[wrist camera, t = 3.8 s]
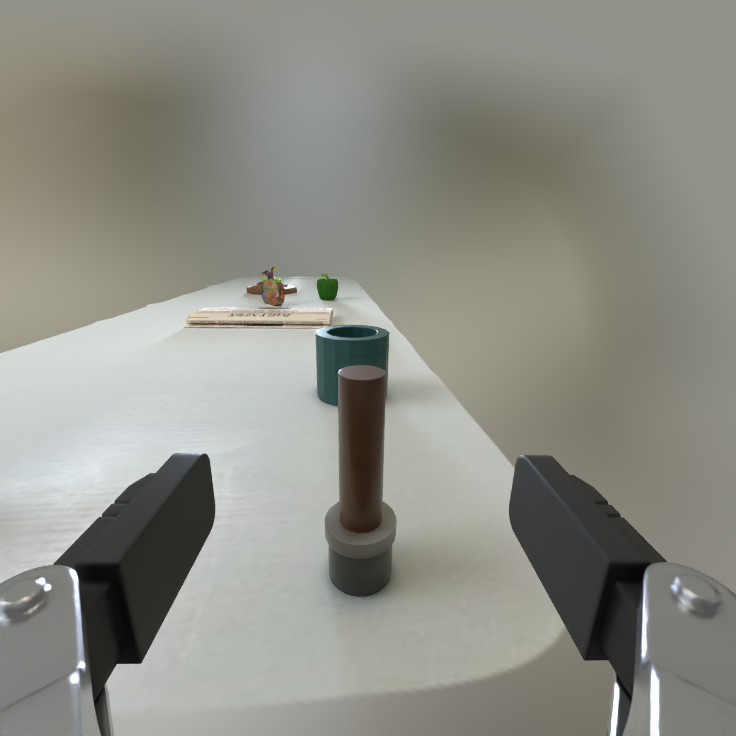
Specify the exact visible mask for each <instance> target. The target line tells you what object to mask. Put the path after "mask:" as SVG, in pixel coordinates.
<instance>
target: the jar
mask: <svg viewBox="0 0 736 736" xmlns="http://www.w3.org/2000/svg"><path fill="white" fill-rule="evenodd" d="M388 349H389V332H388V331H387V330H385V329H382V328H379V327H373V326H366V325H337V326H329V327H325V328H321V329H319V330H317V331H316V362H317V390H318V397H319V398H320V399H321V400H322V401H323V402H325V403H328V404H331V405H335V406H338V372H339V370H340V369H342V368H345V367H348V366H355V365H368V366H375V367H379V368H381V369H383V370H385V372H386V395H387V380H388ZM386 395H385V397H386Z"/></svg>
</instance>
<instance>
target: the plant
mask: <svg viewBox="0 0 736 736" xmlns="http://www.w3.org/2000/svg"><path fill="white" fill-rule="evenodd" d="M273 269H274V271H276V270H277V268H276V267H272V269H271V272H270V273H269V271H267V270H266V271H265V272H264V273H261V274H260V276H261V277H262V276H263V274H265V275H267V276H268V278H266V280H271V281H278V280H279V279H278V280H277V278H273ZM267 272H268V274H269V275H268V274H267ZM261 279H262V278H261ZM262 280H263V281H265V279H262ZM281 280H283V279H280V280H279V281H278V282H281ZM262 284H263V282H260V283H257V284H256V285H254V286H251V287H247V293H253V294H262ZM283 286H284V294H288V293H293V292H297V289H296V287H294V286H292V285H283Z"/></svg>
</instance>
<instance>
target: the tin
mask: <svg viewBox="0 0 736 736" xmlns="http://www.w3.org/2000/svg"><path fill="white" fill-rule="evenodd" d="M262 297H263V300H264V302H265V303H267V304H271V305H281V304H283V302H284V286H283V284H282V283H281V282H278V281H271V280H265V281H264V282H263V284H262Z"/></svg>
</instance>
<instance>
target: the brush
mask: <svg viewBox="0 0 736 736" xmlns="http://www.w3.org/2000/svg"><path fill="white" fill-rule="evenodd" d="M385 395H386V372H385V370H383V369H381V368H379V367H375V366H368V365H355V366H348V367H345V368H342V369H340V370H339V372H338V418H339V502H337V503H335V504H334V505H333V506H332V507H331V508H330V509H329V510H328V512H327V514H326V517H325V536H326V540H327V542H328V544H329V574H330V578H331V580H332V582H333V584H334V585H335V586H336V587H337V588H338V589H339V590H341V591H342V592H344V593H346V594H349V595H353V596H367V595H371V594H374V593H376V592H378V591H379V590H381V589H382V588H383V587H384V586H385V585H386V584H387V582H388V581H389V578H390V575H391V560H392V544H393V542H394V540H395V536H396V516H395V513H394V511H393V510H392V509H391V507H390V506H388V505H387V504H386V503H384V502H383V501H382V494H383V461H384V428H385Z"/></svg>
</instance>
